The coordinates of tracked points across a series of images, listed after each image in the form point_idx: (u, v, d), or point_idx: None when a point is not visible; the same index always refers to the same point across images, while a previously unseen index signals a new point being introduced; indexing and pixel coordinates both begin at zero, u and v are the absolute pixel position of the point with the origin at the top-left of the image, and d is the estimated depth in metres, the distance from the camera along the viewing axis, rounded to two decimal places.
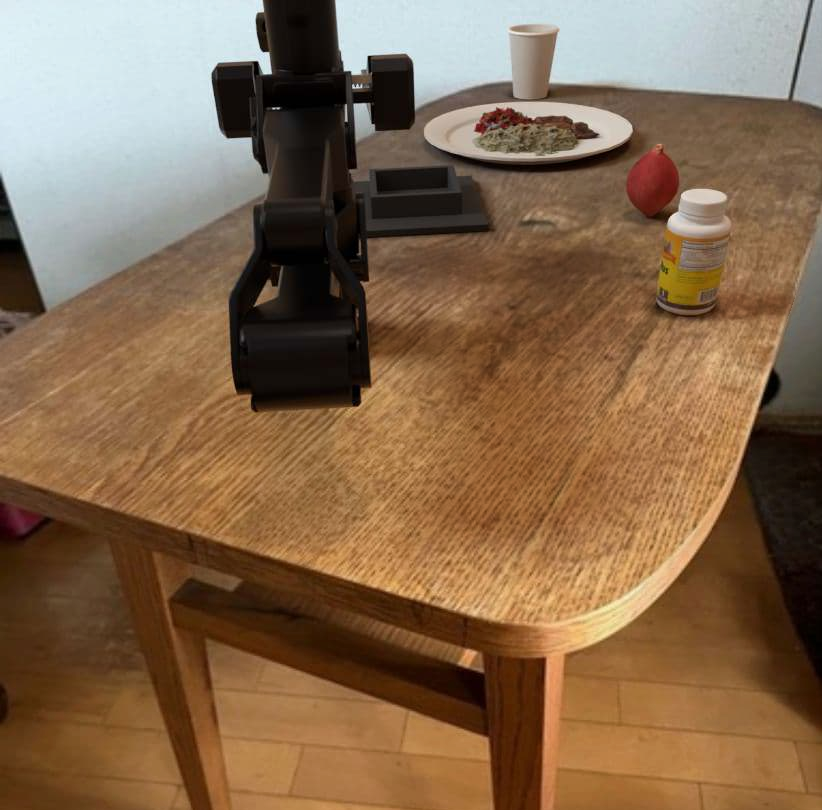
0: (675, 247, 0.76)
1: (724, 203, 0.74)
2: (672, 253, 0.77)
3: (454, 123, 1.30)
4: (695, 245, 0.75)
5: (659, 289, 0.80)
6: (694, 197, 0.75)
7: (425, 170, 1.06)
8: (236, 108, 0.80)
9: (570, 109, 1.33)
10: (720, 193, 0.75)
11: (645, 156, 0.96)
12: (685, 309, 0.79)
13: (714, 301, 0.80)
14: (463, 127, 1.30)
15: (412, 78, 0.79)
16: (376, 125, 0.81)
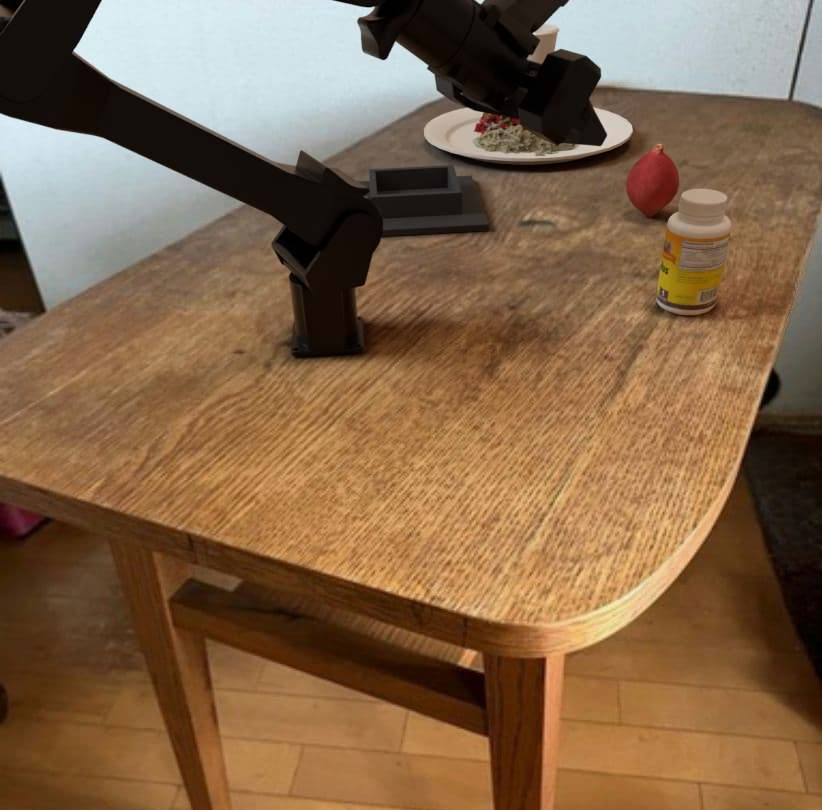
0: (675, 247, 0.76)
1: (724, 203, 0.74)
2: (672, 253, 0.77)
3: (454, 123, 1.30)
4: (695, 245, 0.75)
5: (659, 289, 0.80)
6: (694, 197, 0.75)
7: (425, 170, 1.06)
8: None
9: None
10: (720, 193, 0.75)
11: (645, 156, 0.96)
12: (685, 309, 0.79)
13: (714, 301, 0.80)
14: (463, 127, 1.30)
15: (573, 74, 0.65)
16: (519, 112, 0.68)
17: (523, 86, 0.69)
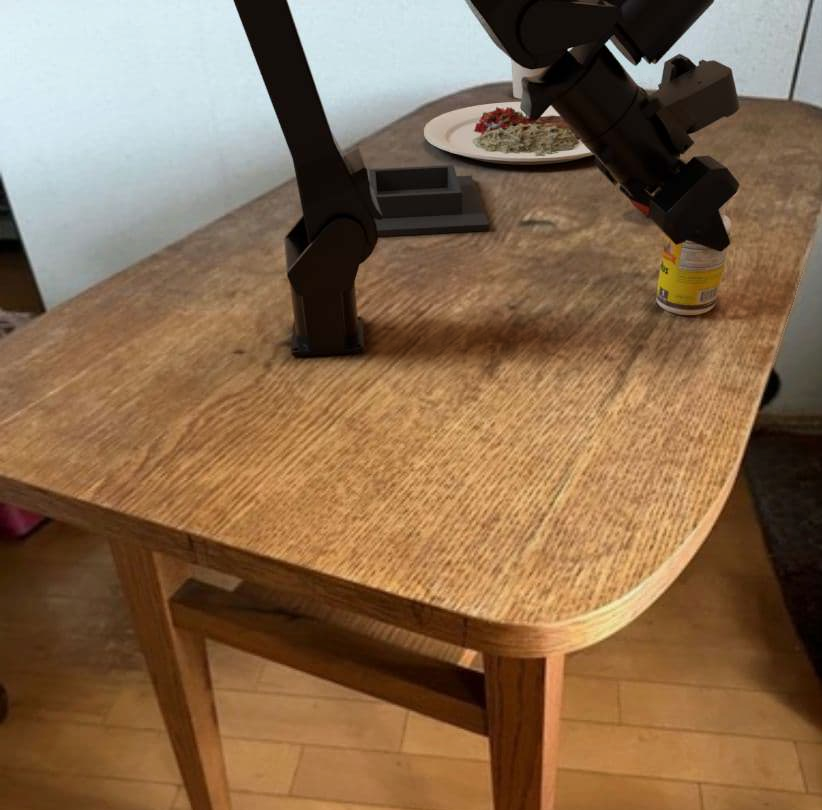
0: (675, 247, 0.76)
1: None
2: (672, 253, 0.77)
3: (454, 123, 1.30)
4: (695, 245, 0.75)
5: (659, 289, 0.80)
6: None
7: (425, 170, 1.06)
8: None
9: None
10: None
11: None
12: (685, 309, 0.79)
13: (714, 301, 0.80)
14: (463, 127, 1.30)
15: (708, 182, 0.65)
16: (650, 204, 0.69)
17: (664, 181, 0.70)
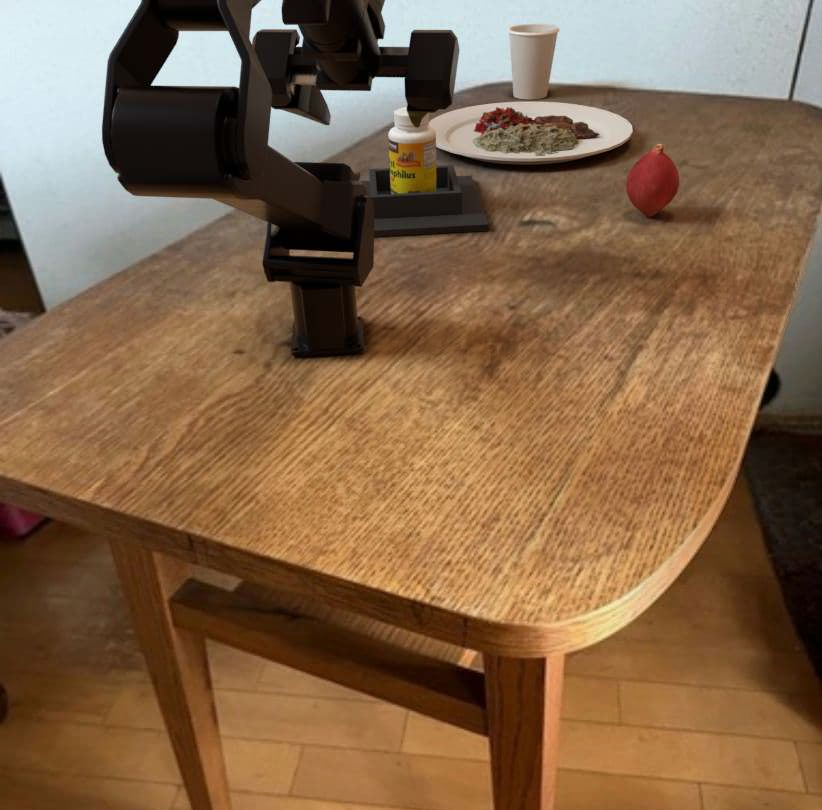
0: (418, 153, 0.98)
1: None
2: (416, 159, 0.99)
3: (454, 123, 1.30)
4: (431, 145, 0.98)
5: None
6: None
7: None
8: (267, 58, 0.76)
9: (570, 109, 1.32)
10: None
11: (645, 156, 0.96)
12: None
13: None
14: (463, 127, 1.30)
15: (452, 44, 0.74)
16: (406, 84, 0.74)
17: (390, 64, 0.75)
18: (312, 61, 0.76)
